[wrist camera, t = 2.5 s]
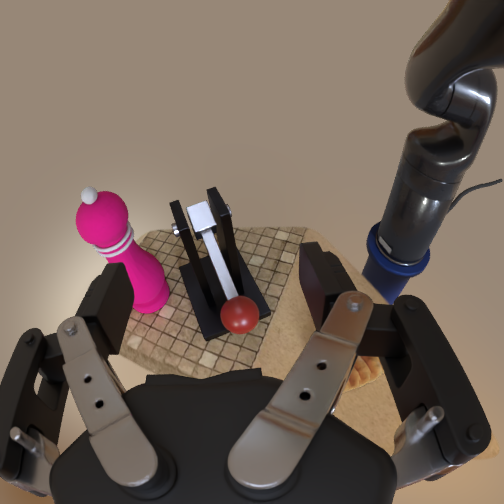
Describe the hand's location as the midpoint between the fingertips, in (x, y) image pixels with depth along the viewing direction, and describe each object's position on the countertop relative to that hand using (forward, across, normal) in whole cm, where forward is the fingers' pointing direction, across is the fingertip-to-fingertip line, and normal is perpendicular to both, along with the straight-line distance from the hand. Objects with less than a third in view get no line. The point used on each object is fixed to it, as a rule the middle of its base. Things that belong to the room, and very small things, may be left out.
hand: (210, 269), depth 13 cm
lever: (+13, +1, +10) cm, 17 cm away
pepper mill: (+21, +12, +18) cm, 31 cm away
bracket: (+20, +2, +18) cm, 27 cm away
